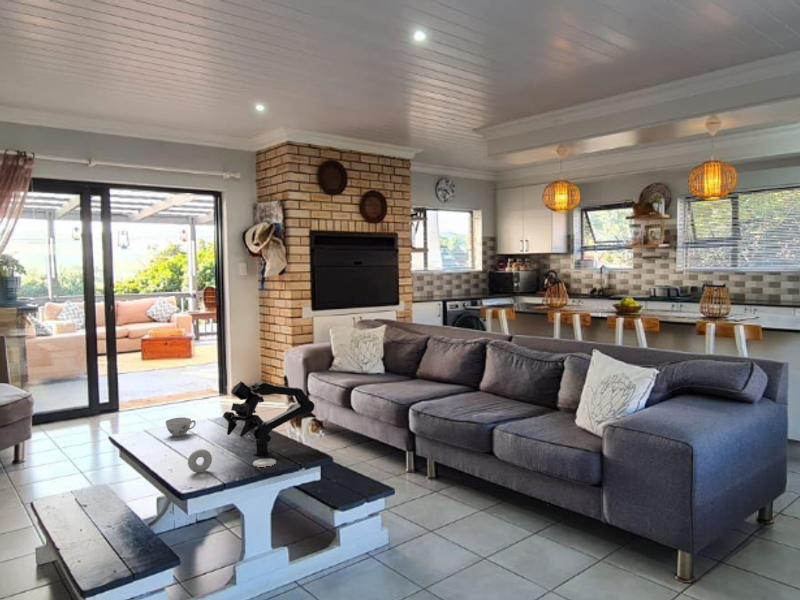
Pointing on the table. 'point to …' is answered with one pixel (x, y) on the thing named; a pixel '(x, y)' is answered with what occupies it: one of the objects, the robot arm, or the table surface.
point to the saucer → (264, 462)
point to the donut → (195, 456)
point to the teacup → (179, 425)
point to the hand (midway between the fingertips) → (234, 435)
